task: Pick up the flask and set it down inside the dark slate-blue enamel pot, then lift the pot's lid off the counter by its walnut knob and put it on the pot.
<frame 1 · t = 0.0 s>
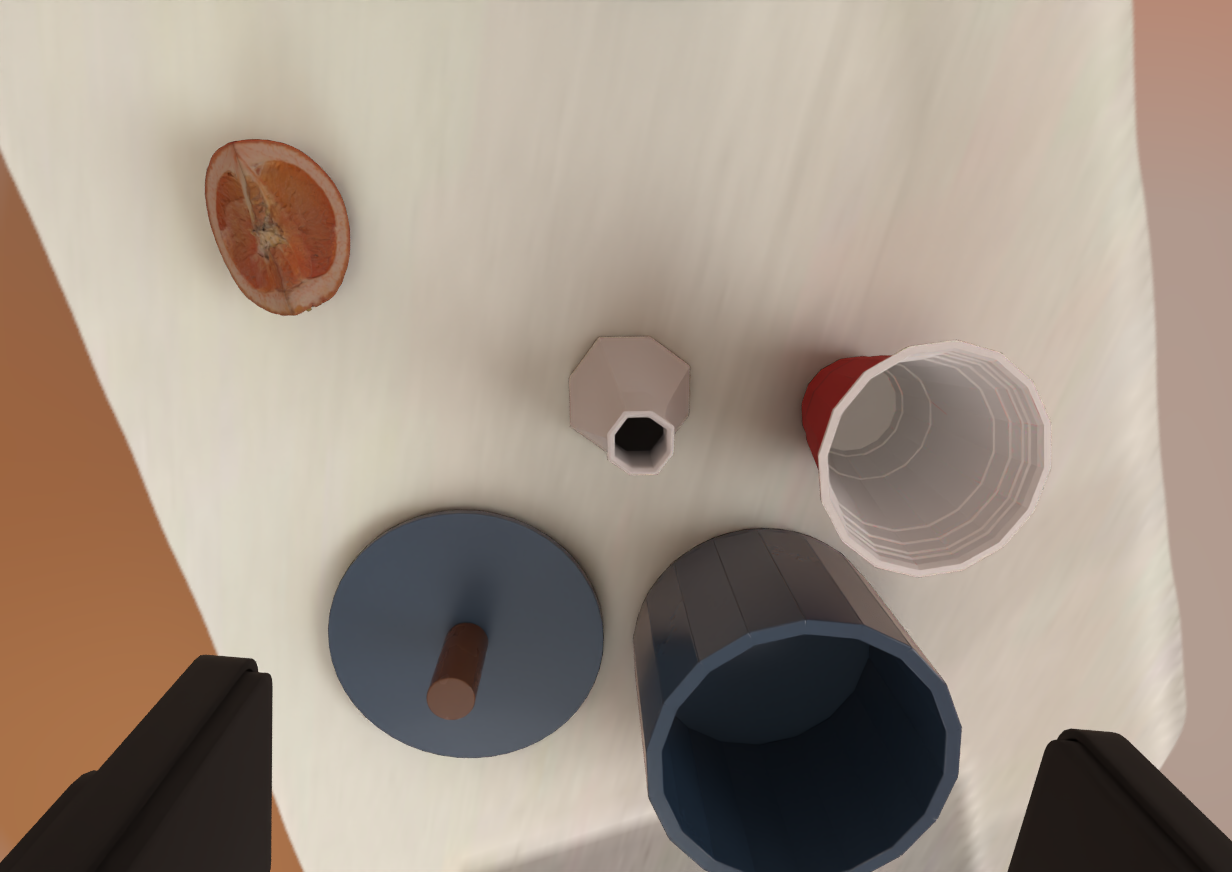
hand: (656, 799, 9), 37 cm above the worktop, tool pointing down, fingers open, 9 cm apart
fruit slice: (295, 229, 43), on the worktop
lid: (468, 636, 49), point 1 cm above the worktop
flask: (629, 394, 46), on the worktop
pot: (756, 642, 50), on the worktop
plastic cup: (851, 402, 47), on the worktop
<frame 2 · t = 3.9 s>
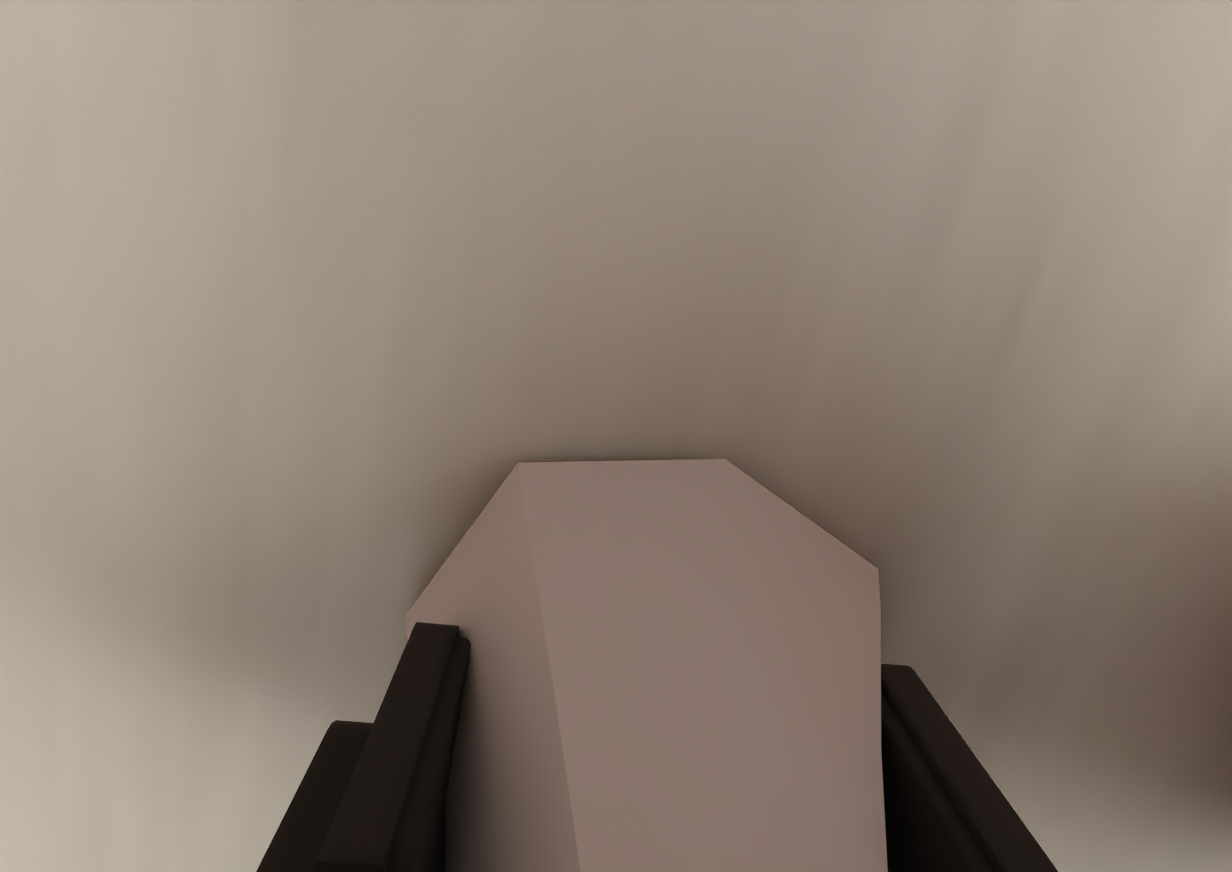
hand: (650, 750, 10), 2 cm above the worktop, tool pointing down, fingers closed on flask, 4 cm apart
flask: (640, 662, 12), on the worktop, touching gripper
when the fingers open (6 cm above the worktop, at t = 11.8 s): flask drops 4 cm, resting on pot.
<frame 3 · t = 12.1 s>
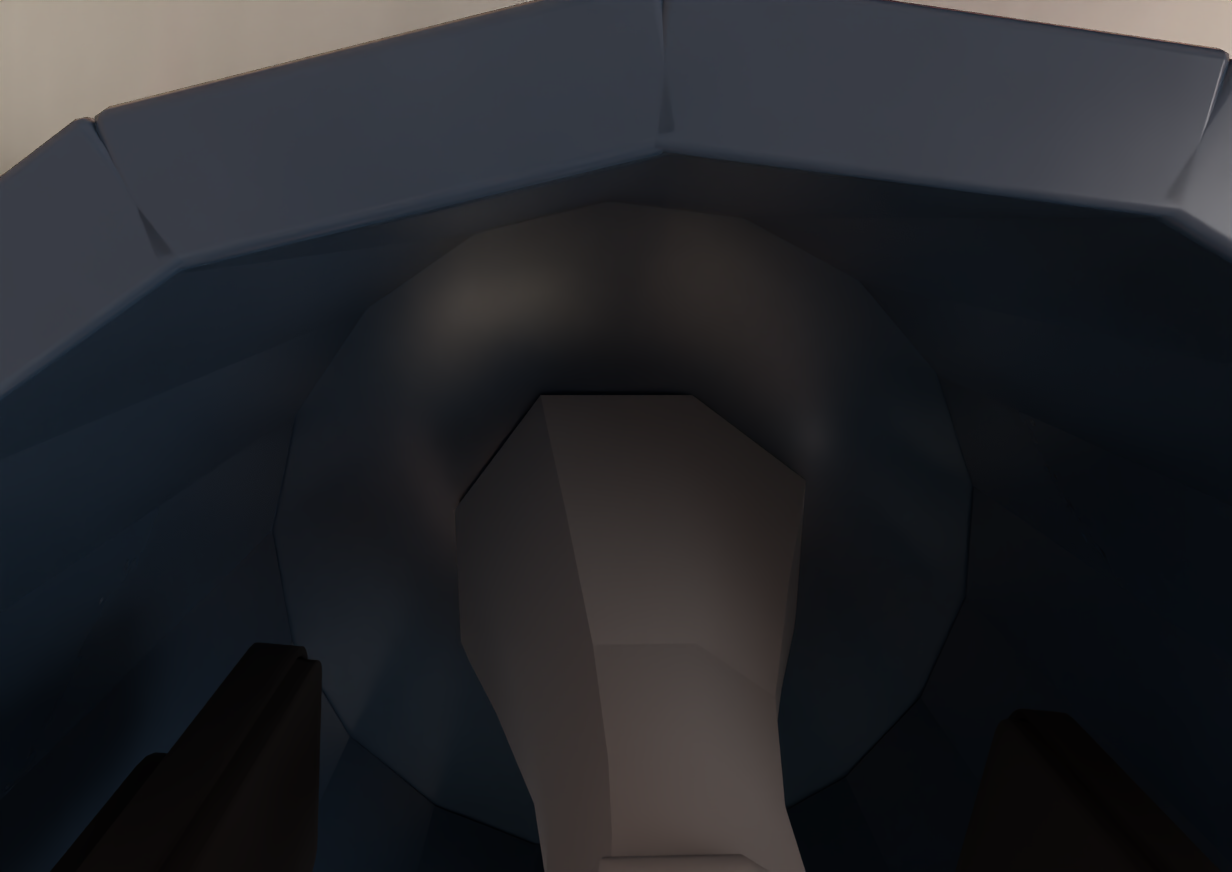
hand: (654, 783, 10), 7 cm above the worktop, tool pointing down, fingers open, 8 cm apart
flask: (628, 553, 16), resting on pot
pot: (627, 553, 17), on the worktop
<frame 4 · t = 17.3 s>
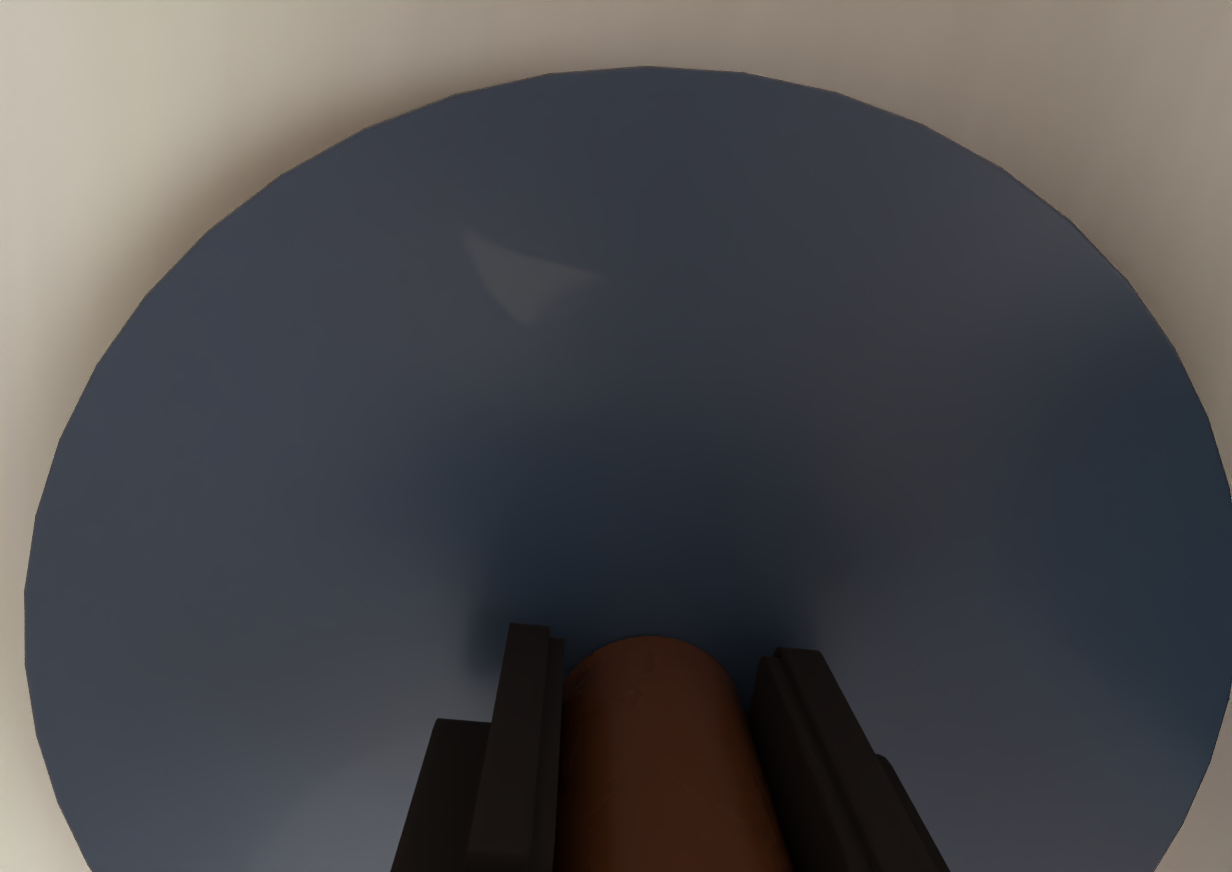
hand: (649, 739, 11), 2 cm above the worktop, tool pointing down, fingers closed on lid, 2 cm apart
lid: (644, 692, 12), point 1 cm above the worktop, touching gripper
when the fingers open (13 cm above the worktop, at t = 24.3 s): lid stays where it is, resting on pot.
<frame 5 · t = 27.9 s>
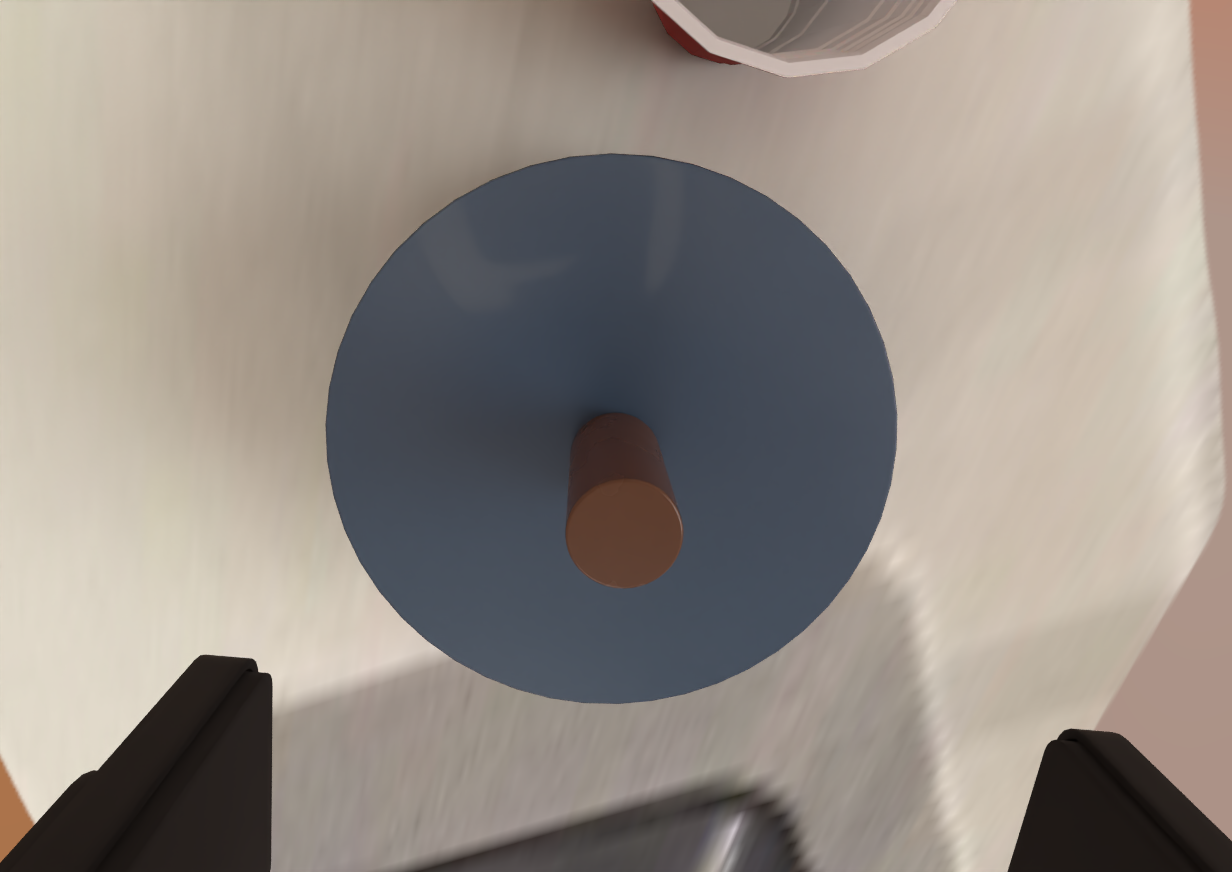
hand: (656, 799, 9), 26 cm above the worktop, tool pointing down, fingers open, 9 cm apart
lid: (614, 449, 24), point 11 cm above the worktop, touching pot
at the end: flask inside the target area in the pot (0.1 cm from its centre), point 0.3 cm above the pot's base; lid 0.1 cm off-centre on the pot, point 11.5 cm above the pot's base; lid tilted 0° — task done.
